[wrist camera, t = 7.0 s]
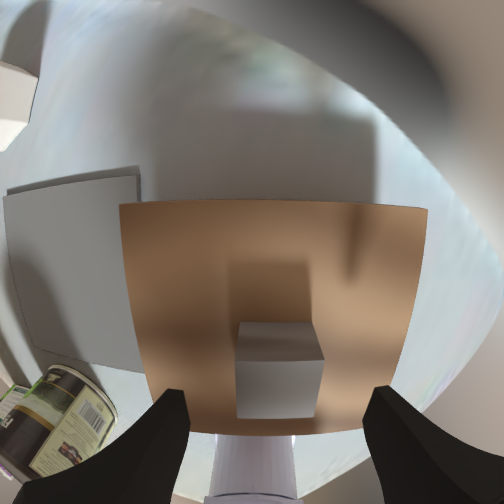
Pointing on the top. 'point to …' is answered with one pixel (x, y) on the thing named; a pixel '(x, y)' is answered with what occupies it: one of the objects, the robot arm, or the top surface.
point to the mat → (74, 269)
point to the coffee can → (55, 425)
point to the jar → (14, 101)
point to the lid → (271, 307)
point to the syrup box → (6, 405)
